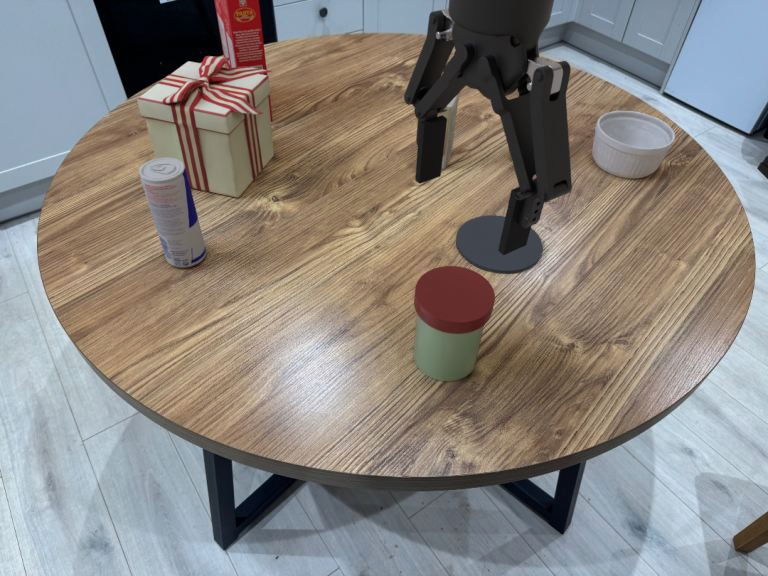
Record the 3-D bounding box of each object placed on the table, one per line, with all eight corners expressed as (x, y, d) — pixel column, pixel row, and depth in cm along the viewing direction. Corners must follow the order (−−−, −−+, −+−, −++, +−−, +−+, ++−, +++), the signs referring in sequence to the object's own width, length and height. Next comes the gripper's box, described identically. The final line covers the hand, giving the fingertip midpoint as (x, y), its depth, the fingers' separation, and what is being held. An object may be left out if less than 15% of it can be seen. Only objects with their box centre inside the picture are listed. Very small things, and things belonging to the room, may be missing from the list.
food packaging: (272, 121, 111) (256, -19, 94) (246, 125, 110) (224, -16, 92) (254, 89, 121) (236, -44, 103) (230, 92, 119) (207, -41, 102)
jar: (489, 364, 70) (504, 304, 62) (437, 391, 67) (447, 332, 59) (450, 323, 74) (460, 263, 67) (401, 347, 71) (405, 287, 64)
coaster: (560, 254, 85) (561, 251, 85) (493, 285, 80) (494, 282, 79) (502, 209, 93) (503, 206, 92) (438, 234, 87) (439, 231, 87)
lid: (508, 314, 63) (511, 302, 62) (445, 346, 60) (447, 334, 58) (459, 268, 68) (461, 256, 67) (398, 295, 65) (399, 282, 64)
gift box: (263, 203, 92) (248, 103, 80) (157, 187, 94) (126, 87, 82) (295, 149, 104) (286, 55, 92) (200, 136, 106) (180, 43, 94)
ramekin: (665, 188, 98) (681, 153, 93) (587, 177, 100) (598, 142, 95) (656, 149, 108) (670, 115, 103) (585, 139, 109) (595, 106, 104)
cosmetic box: (429, 148, 105) (435, 85, 97) (452, 153, 105) (460, 89, 96) (420, 166, 101) (425, 101, 93) (444, 171, 100) (451, 106, 92)
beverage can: (212, 261, 82) (190, 172, 71) (173, 274, 79) (144, 185, 69) (200, 239, 85) (177, 151, 74) (162, 251, 83) (133, 162, 72)
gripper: (689, 7, 34) (589, 270, 49) (444, -81, 49) (425, 143, 64) (604, 29, 31) (525, 302, 46) (369, -71, 46) (367, 162, 61)
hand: (467, 211), depth 55 cm, fingers open, 12 cm apart
